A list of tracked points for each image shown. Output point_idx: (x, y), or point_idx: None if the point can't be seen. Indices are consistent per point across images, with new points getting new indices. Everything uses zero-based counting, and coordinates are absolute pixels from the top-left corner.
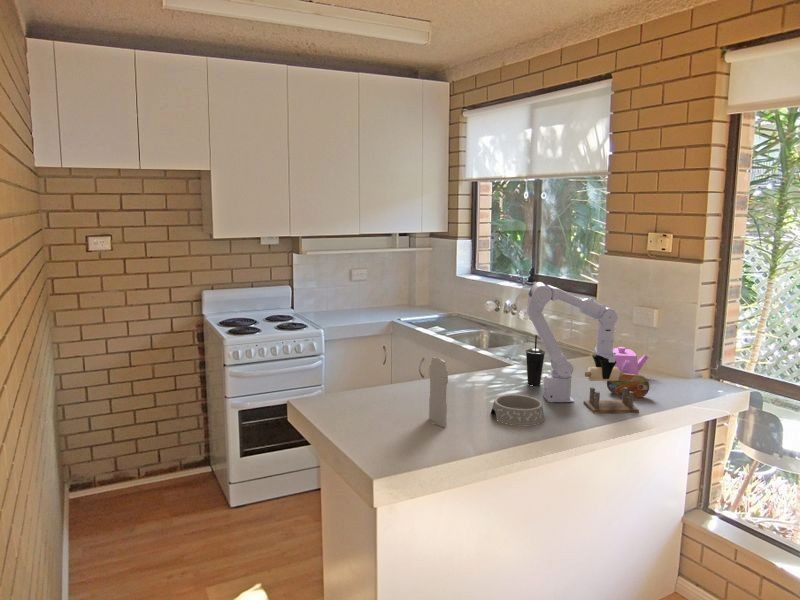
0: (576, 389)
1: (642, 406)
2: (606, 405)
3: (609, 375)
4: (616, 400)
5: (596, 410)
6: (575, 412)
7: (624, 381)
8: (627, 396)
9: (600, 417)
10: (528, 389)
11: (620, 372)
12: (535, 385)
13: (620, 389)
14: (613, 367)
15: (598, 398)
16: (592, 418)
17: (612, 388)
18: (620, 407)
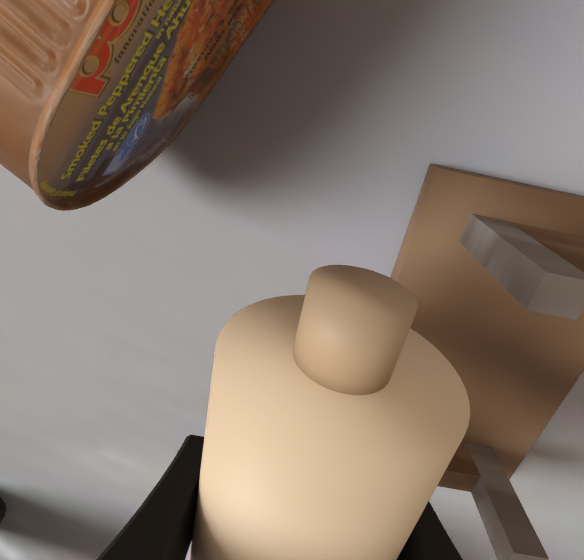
0: (46, 346)
1: (572, 70)
2: (472, 386)
3: (435, 524)
4: (406, 261)
5: (512, 470)
6: (449, 527)
7: (164, 17)
8: (540, 244)
9: (576, 472)
10: (62, 545)
11: (398, 342)
12: (1, 513)
13: (186, 73)
14: (350, 534)
15: (520, 515)
16: (564, 507)
17: (139, 141)
18: (556, 326)
